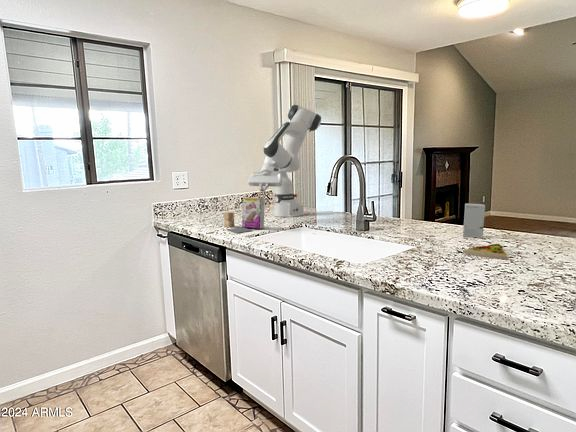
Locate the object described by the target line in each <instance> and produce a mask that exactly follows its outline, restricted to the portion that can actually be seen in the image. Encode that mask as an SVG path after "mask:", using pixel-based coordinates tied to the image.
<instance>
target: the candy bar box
mask: <svg viewBox="0 0 576 432" xmlns="http://www.w3.org/2000/svg"><path fill="white" fill-rule="evenodd" d="M265 199H266V198H264V197H245V196H244V197H242V225H241V227H243V228H247V229H259V230H261V229H264V228H265V206H266V205H265V202H266V201H265Z"/></svg>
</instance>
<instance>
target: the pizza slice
mask: <svg viewBox="0 0 576 432" xmlns="http://www.w3.org/2000/svg"><path fill="white" fill-rule="evenodd" d="M462 253H463V254H464V253H466V255H469V254H470V255H469V256H474V257H480V258H486V259H487V258H488V259H497V260H508V259H509V256H508V255H507V253H506V251H505V250H504V248H503V246H502V245H501V244H500V243H493V244H488V245H482V246H481V245H480V246H479V245H478V246H475V247H469V248H467V249H463V250H462Z"/></svg>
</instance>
